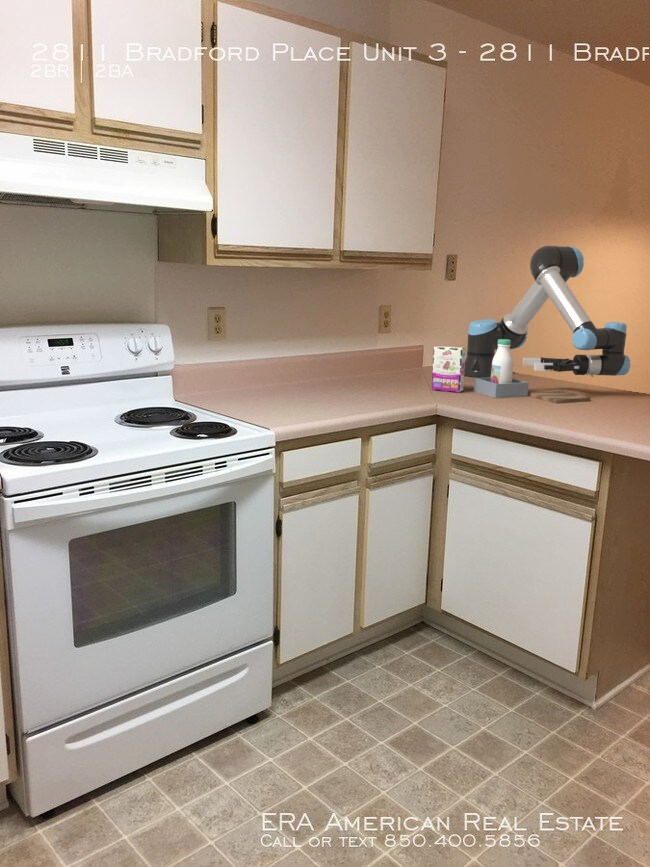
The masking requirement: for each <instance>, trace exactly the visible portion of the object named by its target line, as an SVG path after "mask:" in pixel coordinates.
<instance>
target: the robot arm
mask: <svg viewBox="0 0 650 867" xmlns="http://www.w3.org/2000/svg"><path fill="white" fill-rule="evenodd" d="M584 261H585V260H584V255H583V252H582V251H581V249H579V248H578V247H574V246H570V245H567V246H565V245H564V246H563V245H544V246H541V247H538V249H537V250H535V251H534V253H533V254H532V256H531V258H530V262H529V269H530V272H531V276H532V277H533V279H534V282H533V283H532V284H531V285H530V287H529V289H528V290H527V291H526V292H525V293H524V295H523V296H522V297H521V299H520V301H519V302H518V304H516V305H515V308H513V309H512V311H511V313H506V314H505V315H504V316H503V317H502V318H501V320H500V321H497V320H496V319H493V318H491V319H490V318H484V319H476V320H473V321H471V322H470V323H469V325H468V330H467V346H466V347H467V348H466V356H465V369H464V377H465V376H466V377H471V378H473V377H474V378H488V377H491V368H492V361H493V358H494V356H495V354H496V351H497V349H498V340H499V339H507V340H511V344H510V350H514V349H519V348H520V347H522V346H523V345H525V343H526V342H527V337H528V330H529V329H528V328H529V327H528V325H529V324H530V322H531V321H532V320H533V319H534V317H535V316H536V315H537V313H539V311H540V310H541V308H542V307H543V306H544V305H545V304H546V302H547V301H548V299H550V300H551V301H552V304H553V305H554V306H555V307H556V309H557V310H558V312H559V313H560V316H561V317H562V318H563V320H564V322H565V323H566V326H568V327H569V329H570V331H571V332H572V337H571V341H572V345H573V347H574V348H575V349H577V350H581V351H593V350H602V351H601V352H602V354H587V355H586V354H575V355H574V356H573V358H572V359H570V358H556V357H555V358H554V357H553V358H550V357H542V356H541V357H523V358H522V366H534V367H533V371H535V372H537V371H539V372H542V371H543V372H546V371H547V372H558V373H564V372H572V373H573V374H574V375H575V376H585V375H586V376H590V377H594V376H610V377H611V376H614V377H615V376H625V375H627V374H628V373H629V371H630V368H631V359H630V357H629V356H628V355H625V348H626V347H625V346H626V340H627V328H628V327H627V324H626V323H624V322H620V321H619V322H618V321H608V322H605V324H604V327H603V328H600V327H599V328H597V327H596V326H595V324H594V323H593V321H592V320H591V318H590V317H589V315H588V314H587V312H586V310H585V309H584V308H583V306H582V305H581V303H580V302H579V300H578V299H577V297H576V296H575V294H574V292H573V291H572V290H571V288H570V287H569V285H568V284H567V282H568V280H569V279H570V278H576V277H578V276H579V275H580V274H581V273H582V271H583V269H584V264H585V262H584Z"/></svg>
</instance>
